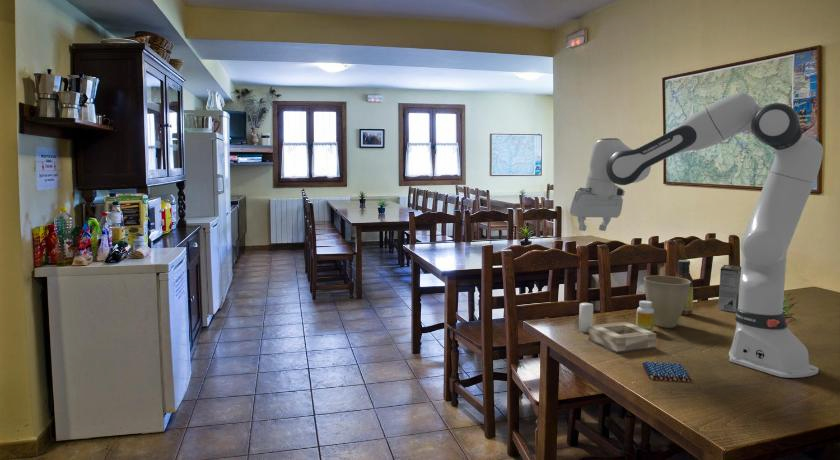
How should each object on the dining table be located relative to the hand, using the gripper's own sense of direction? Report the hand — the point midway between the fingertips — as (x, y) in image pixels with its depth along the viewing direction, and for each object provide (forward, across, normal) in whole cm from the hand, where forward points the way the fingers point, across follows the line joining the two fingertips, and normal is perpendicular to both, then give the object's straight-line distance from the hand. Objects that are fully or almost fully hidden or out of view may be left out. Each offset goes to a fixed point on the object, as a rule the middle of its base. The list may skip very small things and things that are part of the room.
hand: (592, 230), depth 192 cm
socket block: (+32, +1, -18) cm, 37 cm away
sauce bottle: (+30, +50, -6) cm, 59 cm away
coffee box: (+29, +71, -10) cm, 77 cm away
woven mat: (+30, -9, -42) cm, 53 cm away
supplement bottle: (+32, +20, -12) cm, 39 cm away
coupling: (+34, +2, -2) cm, 34 cm away
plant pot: (+31, +31, -12) cm, 45 cm away
